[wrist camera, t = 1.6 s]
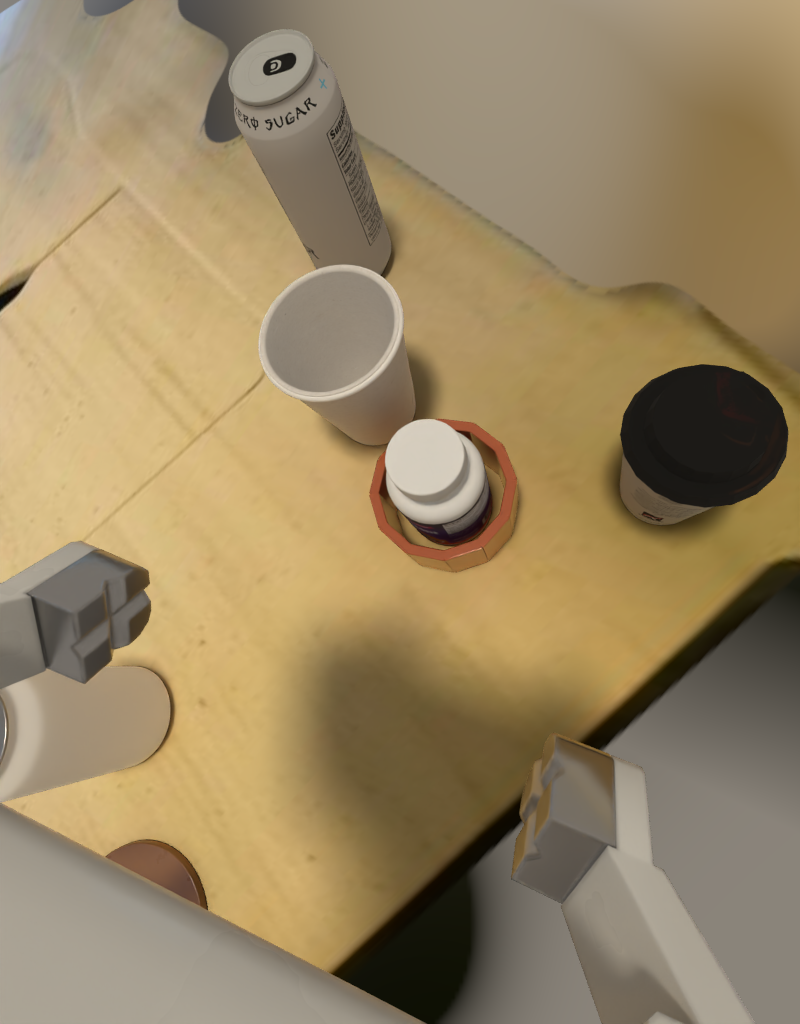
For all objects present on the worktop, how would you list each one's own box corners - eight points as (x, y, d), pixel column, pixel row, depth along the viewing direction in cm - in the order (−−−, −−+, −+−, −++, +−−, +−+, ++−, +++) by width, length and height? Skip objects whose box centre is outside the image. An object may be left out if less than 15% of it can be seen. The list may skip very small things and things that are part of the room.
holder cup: (544, 498, 34) (546, 476, 30) (456, 598, 34) (445, 589, 30) (447, 424, 37) (436, 393, 33) (365, 514, 37) (343, 496, 32)
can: (106, 783, 36) (-87, 841, 25) (82, 692, 38) (-106, 708, 27) (187, 738, 36) (27, 776, 24) (157, 648, 38) (-2, 645, 26)
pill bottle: (395, 502, 36) (350, 451, 27) (457, 452, 36) (433, 384, 27) (445, 564, 35) (413, 531, 25) (510, 511, 34) (503, 459, 25)
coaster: (236, 929, 32) (230, 934, 31) (131, 1048, 32) (124, 1055, 31) (152, 807, 35) (146, 809, 34) (56, 913, 35) (48, 918, 34)
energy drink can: (320, 238, 44) (220, 39, 30) (392, 222, 42) (324, 6, 28) (321, 302, 42) (215, 124, 28) (396, 287, 41) (325, 92, 27)
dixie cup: (425, 344, 39) (392, 244, 30) (443, 450, 37) (412, 378, 27) (317, 371, 41) (253, 284, 31) (327, 474, 38) (260, 414, 29)
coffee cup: (647, 567, 32) (697, 530, 22) (575, 475, 34) (592, 406, 25) (751, 502, 31) (845, 436, 22) (670, 414, 34) (724, 320, 24)
